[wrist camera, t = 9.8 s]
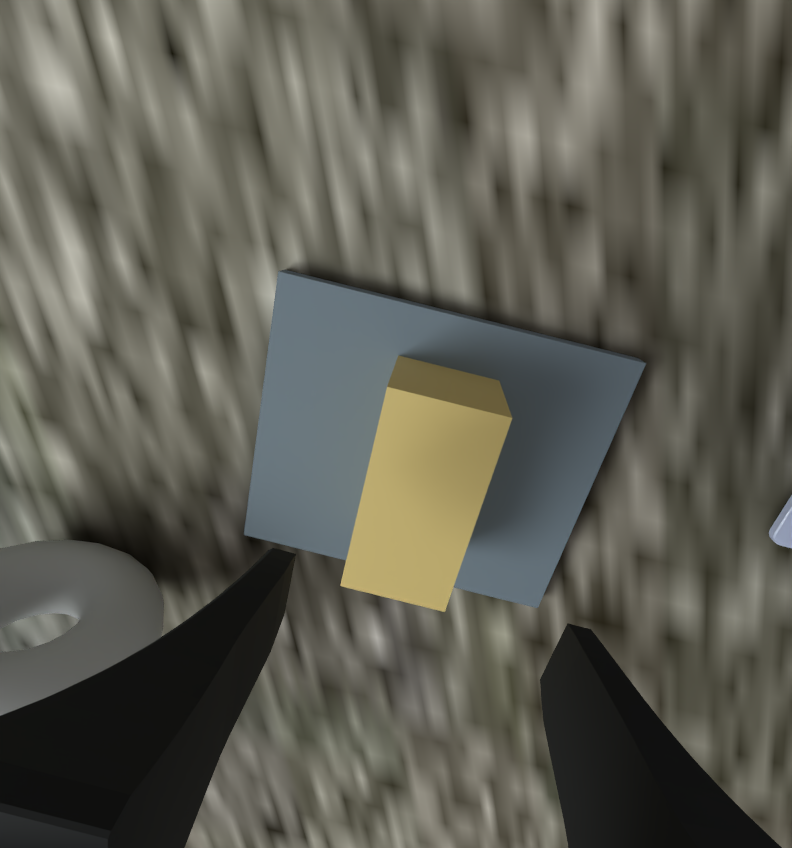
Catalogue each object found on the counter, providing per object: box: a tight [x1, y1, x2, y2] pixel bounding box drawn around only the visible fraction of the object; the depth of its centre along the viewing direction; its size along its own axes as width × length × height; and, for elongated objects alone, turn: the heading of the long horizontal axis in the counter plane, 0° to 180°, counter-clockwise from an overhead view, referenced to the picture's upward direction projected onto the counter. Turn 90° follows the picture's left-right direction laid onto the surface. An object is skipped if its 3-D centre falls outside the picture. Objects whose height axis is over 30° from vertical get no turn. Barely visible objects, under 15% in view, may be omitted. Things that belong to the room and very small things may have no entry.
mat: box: [244, 270, 646, 608], centre depth 21 cm, size 14×12×1 cm
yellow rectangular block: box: [340, 355, 512, 612], centre depth 19 cm, size 8×4×4 cm, turn 167°
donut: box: [0, 540, 164, 716], centre depth 20 cm, size 10×4×10 cm, turn 78°
